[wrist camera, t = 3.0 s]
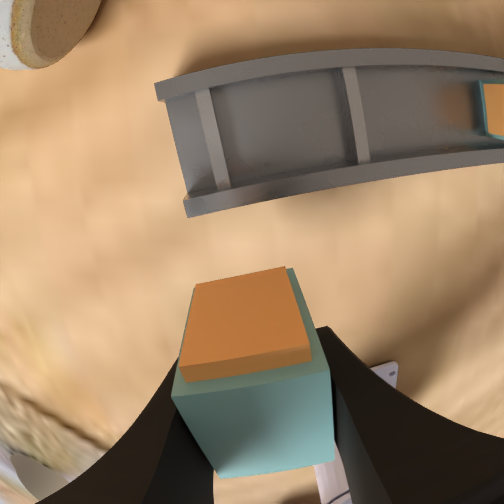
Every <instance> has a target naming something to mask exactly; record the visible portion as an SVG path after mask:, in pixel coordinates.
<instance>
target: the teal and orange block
mask: <svg viewBox="0 0 504 504" xmlns="http://www.w3.org/2000/svg"><path fill="white" fill-rule="evenodd" d="M171 398H172V400H173V401H174V403H175V405H176V407H177V409H178V410H179V412H180V414H181V416H182V418H183V419H184V421H185V423H186V424H187V426H188V428H189V430H190V431H191V433H192V435H193V436H194V438H195V440H196V441H197V443H198V444H199V446H200V448H201V449H202V451H203V453H204V454H205V456H206V457H207V459H208V460H209V462H210V464H211V465H212V467H213V468H214V470H215V471H216V473H217V474H218V476H219V477H220V479H222V478H234V477H244V476H252V475H260V474H267V473H274V472H280V471H286V470H292V469H297V468H302V467H307V466H312V465H317V464H321V463H326V462H330V461H334V460H335V450H334V427H333V408H332V392H331V378H330V369H329V366H328V363H327V360H326V357H325V355H324V352H323V349H322V346H321V343H320V341H319V338H318V335H317V332H316V329H315V327H314V324H313V321H312V318H311V316H310V313H309V310H308V307H307V305H306V302H305V299H304V297H303V294H302V291H301V288H300V286H299V283H298V280H297V278H296V275H295V272H294V270H293V268H289V269H286V268H285V266H284V267H279V268H274V269H269V270H265V271H260V272H255V273H250V274H245V275H240V276H235V277H230V278H225V279H220V280H215V281H210V282H205V283H200V284H196V286H195V288H194V290H193V294H192V298H191V303H190V307H189V312H188V316H187V321H186V325H185V330H184V335H183V339H182V344H181V349H180V353H179V358H178V363H177V368H176V373H175V378H174V383H173V388H172V394H171Z"/></svg>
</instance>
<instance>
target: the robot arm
mask: <svg viewBox="0 0 504 504" xmlns="http://www.w3.org/2000/svg"><path fill="white" fill-rule="evenodd" d="M316 332H317V335H318V338H319V341H320V343H321V346H322V349H323V352H324V355H325V357H326V360H327V363H328V366H329V369H330V378H331V392H332V408H333V427H334V450H335V460H334V461H330V462H326V463H321V464H317V465H314V470H315V474H316V479H317V484H318V489H319V494H320V499H321V504H504V438H500V437H496V436H493V435H489V434H486V433H482V432H479V431H476V430H473V429H470V428H468V427H465V426H463V425H460V424H458V423H455V422H453V421H451V420H449V419H447V418H445V417H443V416H441V415H439V414H437V413H435V412H433V411H431V410H429V409H427V408H425V407H423V406H422V405H420V404H418V403H417V402H415V401H413V400H412V399H410V398H409V397H407V396H406V395H404V394H403V393H401V392H400V391H398V390H397V389H396V383H397V375H398V364H397V362H395V361H392V362H389V363H385V364H382V365H379V366H375V367H372V368H369V367H368V366H367V365H366V364H365V363H363V362H362V361H361V360H360V359H359V358H358V357H357V356H356V355H355V354H354V353H353V352H352V351H351V350H350V349H349V348H348V347H347V346H346V345H345V344H344V343H343V342H342V341H341V340H340V339H339V338H338V336H337V335H336V334H335V333H334V332H333V331H332V329H331V328H329V327H328V326H325V327H321V328H316ZM178 358H179V357H178ZM178 358H177V360H176V361H175V363H174V364H173V366H172V368H171V369H170V371H169V372H168V374H167V376H166V377H165V379H164V380H163V382H162V383H161V385H160V387H159V388H158V390H157V391H156V393H155V394H154V396H153V397H152V399H151V400H150V401H149V403H148V404H147V406H146V407H145V408H144V410H143V411H142V412H141V414H140V415H139V416H138V418H137V419H136V420H135V422H134V423H133V424H132V426H131V427H130V428H129V429H128V430H127V432H126V433H125V434H124V435H123V436H122V437H121V438H120V439H119V440H118V442H117V443H116V444H115V445H114V446H113V447H112V448H111V449H110V450H109V451H108V452H107V453H106V454H104V455H103V456H102V457H101V458H100V459H99V460H98V461H97V462H96V463H95V464H93V465H92V466H91V467H90V468H89V469H88V470H86V471H85V472H84V473H83V474H81V475H80V476H79V477H77V478H76V479H75V480H73V481H72V482H70V483H69V484H68V485H66V486H65V487H63V488H62V489H60V490H58V491H57V492H55V493H53V494H52V495H50V496H48V497H46V498H45V499H43V500H41V501H39V502H37V503H35V504H214V498H213V472H214V468H213V467H212V465H211V464H210V462H209V460H208V459H207V457H206V456H205V454H204V453H203V451H202V449H201V448H200V446H199V444H198V443H197V441H196V440H195V438H194V436H193V435H192V433H191V431H190V430H189V428H188V426H187V424H186V423H185V421H184V419H183V418H182V416H181V414H180V412H179V410H178V409H177V407H176V405H175V403H174V401H173V400H172V398H171V394H172V388H173V383H174V378H175V373H176V368H177V363H178Z"/></svg>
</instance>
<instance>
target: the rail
mask: <svg viewBox="0 0 504 504" xmlns="http://www.w3.org/2000/svg"><path fill="white" fill-rule="evenodd" d="M487 79H504V59H502V58H497V57H491V56H484V55H478V54H470V53H462V52H453V51H442V50H429V49H408V48H360V49H339V50H325V51H313V52H304V53H295V54H287V55H279V56H272V57H266V58H260V59H254V60H248V61H243V62H237V63H232V64H228V65H223V66H218V67H214V68H209V69H205V70H201V71H197V72H193V73H189V74H185V75H181V76H178V77H174V78H171V79H167V80H164V81H160V82H157V83H154V85H155V90H156V94H157V99H158V101H160V102H164V103H166V107H167V111H168V116H169V120H170V124H171V128H172V133H173V137H174V141H175V145H176V149H177V153H178V157H179V161H180V165H181V169H182V173H183V177H184V181H185V185H186V189H187V192H188V193H187V195H186V196H185V198H184V200H183V203H184V207H185V210H186V214H187V218H191V217H195V216H199V215H204V214H208V213H212V212H217V211H221V210H226V209H230V208H235V207H240V206H244V205H249V204H254V203H259V202H263V201H268V200H273V199H278V198H283V197H288V196H293V195H298V194H303V193H309V192H314V191H319V190H325V189H330V188H336V187H341V186H347V185H352V184H358V183H364V182H370V181H376V180H382V179H388V178H394V177H400V176H407V175H413V174H420V173H427V172H434V171H441V170H448V169H455V168H463V167H471V166H479V165H487V164H495V163H504V140H501V139H496V138H491V137H486V132H485V121H484V111H483V102H482V95H481V88H480V81H479V80H487Z"/></svg>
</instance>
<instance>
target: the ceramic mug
mask: <svg viewBox="0 0 504 504" xmlns="http://www.w3.org/2000/svg"><path fill="white" fill-rule="evenodd" d="M100 3H101V0H0V68H5V69H11V70H34V69H40V68H44V67H48V66H50V65H52V64H54V63H56V62H58V61H59V60H61V59H62V58H63V57H64V56H65V55H67V54H68V53H69V52H70V51H71V50H72V49H73V48H74V47H75V45H76V44H77V43H78V42H79V41H80V40H81V38H82V37H83V36H84V34H85V33H86V31H87V29H88V28H89V26H90V25H91V23H92V21H93V19H94V17H95V15H96V13H97V11H98V8H99V6H100Z"/></svg>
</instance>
